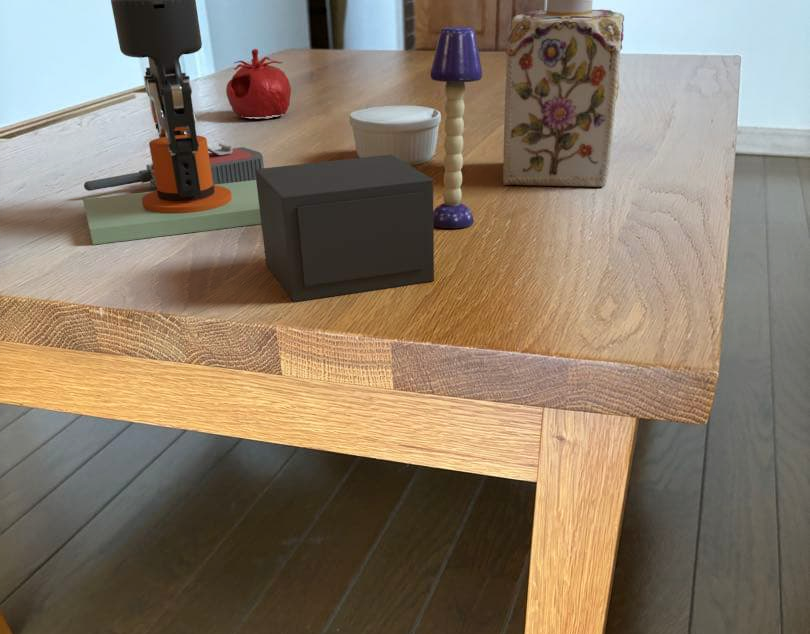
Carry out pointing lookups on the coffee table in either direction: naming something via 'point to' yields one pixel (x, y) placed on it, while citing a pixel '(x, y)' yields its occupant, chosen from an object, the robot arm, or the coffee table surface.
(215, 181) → the walkie-talkie
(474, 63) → the toy lamp
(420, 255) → the box
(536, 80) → the decorative jar
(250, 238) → the coffee table surface
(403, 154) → the ramekin
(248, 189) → the board
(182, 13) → the robot arm
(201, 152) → the hat
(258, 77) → the red hollow tomato
